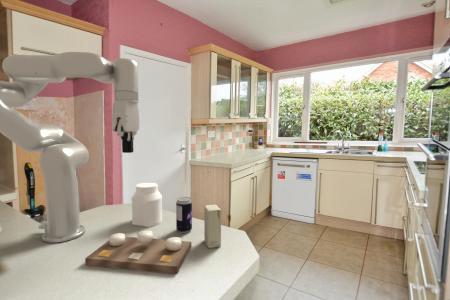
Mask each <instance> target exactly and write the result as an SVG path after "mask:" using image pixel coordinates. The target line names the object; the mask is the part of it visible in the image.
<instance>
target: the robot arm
mask: <svg viewBox="0 0 450 300" xmlns="http://www.w3.org/2000/svg"><path fill="white" fill-rule="evenodd" d="M2 71H3V72H4V74H5V75H6V76H7V77H9V78H10V79H12V80H13V81H12V82H11V81H5V80H2V79H1V80H0V134H1V135H2V136H4V137H6V138H7V139H8V140H10V141H11V142H12V143H14V144H15V145H17V146H18V147H20V148H21V149H22V150H24V151H26V152H28V153H40V152H41V153H40V156H39V166H40V169H41V172H42V177H43V183H44V195H45V197H44V198H45V211H46V220H43V221H42V222H41V223H40V224H39V225H38V229H40V230H44V233H43V234H41V240H42V241H43V242H44V243H63V242H67V241H72V240H74V239H76V238H78V237H81V236H82V235H83V234H85V232H86V227H85V226H84V225H82V224H81V219H80V217H81V216H80V214H81V213H80V196H79V195H80V193H79V182H78V178H77V174H76V172H75V169H78V168H81V167H83V166H85V164H87V163H88V161H89V159H90V152H89V150H88V149H87V147H86V146H85V145H84V144H83V143H82V142H81V141H79V140H78V139H77V138H75V137H74V136H72V135H71V134H70V133H69V132H67V131H66V130H64V129H63V128H61V127H59V126H57V125H54V124H48V123H47V124H43V123H36V122H34V121H33V120H31V119H30V118H28V117H26V115H24V114H23V113H21V112H20V111H18V110H16V109H15V108H21V107H24V106H25V105H27V104H29V103H30V102H31V101H32V100H33V99H34V98H35V97H36V96H37V95H38V94H39V93H41V92H42V91H43V89H45V88H46V86H47V85H49V83H50V84H51V83H52V84H53V83H55V84H59V83H60V84H62V83H63V82H65V81H66V79H67V78H80V79H81V78H84V79H85V78H86V79H92V80H95V81H97V82H99V83H102V84H113V95H114V97H113V98H114V99H113V104H112V112H111V113H112V116H111V117H112V118H111V128H112V131H113V132H114V133H115V132H116V135H117V136H118V137H120V141H121V147H122V148H121V151H122V153H123V154H125V153H126V154H131V153H133V152H134V140H135V136H136V135H137V133H138V131H139V129H140V113H139V111H140V110H139V105H138V104H139V102H140V101H139V66H138V63H137V62H136V61H135V60H134V59H130V58H122V57H121V58H116V59H115V60H113V61H112V60H111V61H110V60H108V59H106V58H105V57H103V56H101V55H100V54H97V53H94V52H87V51H86V52H85V51H65V52H62V53H58V54H55V55H53V54H52V55H51V54H50V55H49V54H48V55H46V54H44V55H43V54H13V55H8V56H7V57H5V58H4V59H3V60H2Z"/></svg>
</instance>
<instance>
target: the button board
mask: <svg viewBox="0 0 450 300" xmlns="http://www.w3.org/2000/svg"><path fill="white" fill-rule="evenodd" d="M166 240H167V239H161V238H153V240H152V241H151V242H148V243H139V242H138V241H137V237H135V236H134V237H133V236H125V243H124V244H122V245H119V246H111V245H110V242H109V240H107V241H106V242H105V243H103V244H102V245H101V246H100V247H98V248H97V249H95V250H94V251H93V252H92V253H90V254H89V255H88V256H86V257H85V266H90V267H91V266H92V267H101V268H113V269H119V270H120V269H121V270H132V271H144V272H145V271H146V272H153V273H163V274H175V275H178V273H179V271H180V269H181V268H182V266H183V264H184V263H185V261H186V258H187V257H188V255H189V253H190V252H191V249H192V241H186V240H181V248H180V249H178V250H175V251H170V250H168V249H167V248H166Z"/></svg>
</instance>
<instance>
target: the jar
mask: <svg viewBox="0 0 450 300" xmlns="http://www.w3.org/2000/svg"><path fill="white" fill-rule="evenodd" d="M158 187H159V185H158V183H156V182H141V183H140V182H139V183H137V184H136V185H135V192H134V193H133V195H132V196H131V218H132V219H131V224H132V225H133V226H139V227H144V228H150V227H155V226H157V225H159V224H161V223H162V221H163V201H162V200H163V195H162V194H161V192H160V191H159V189H158Z"/></svg>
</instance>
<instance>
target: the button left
mask: <svg viewBox="0 0 450 300" xmlns="http://www.w3.org/2000/svg"><path fill="white" fill-rule="evenodd" d="M125 237H126V234H125V233H122V232H117V233H113V234H111V235H109V237H108V238H109V239H108V241H109V242H110V245H111V246H119V245H122V244H124V243H125Z"/></svg>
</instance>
